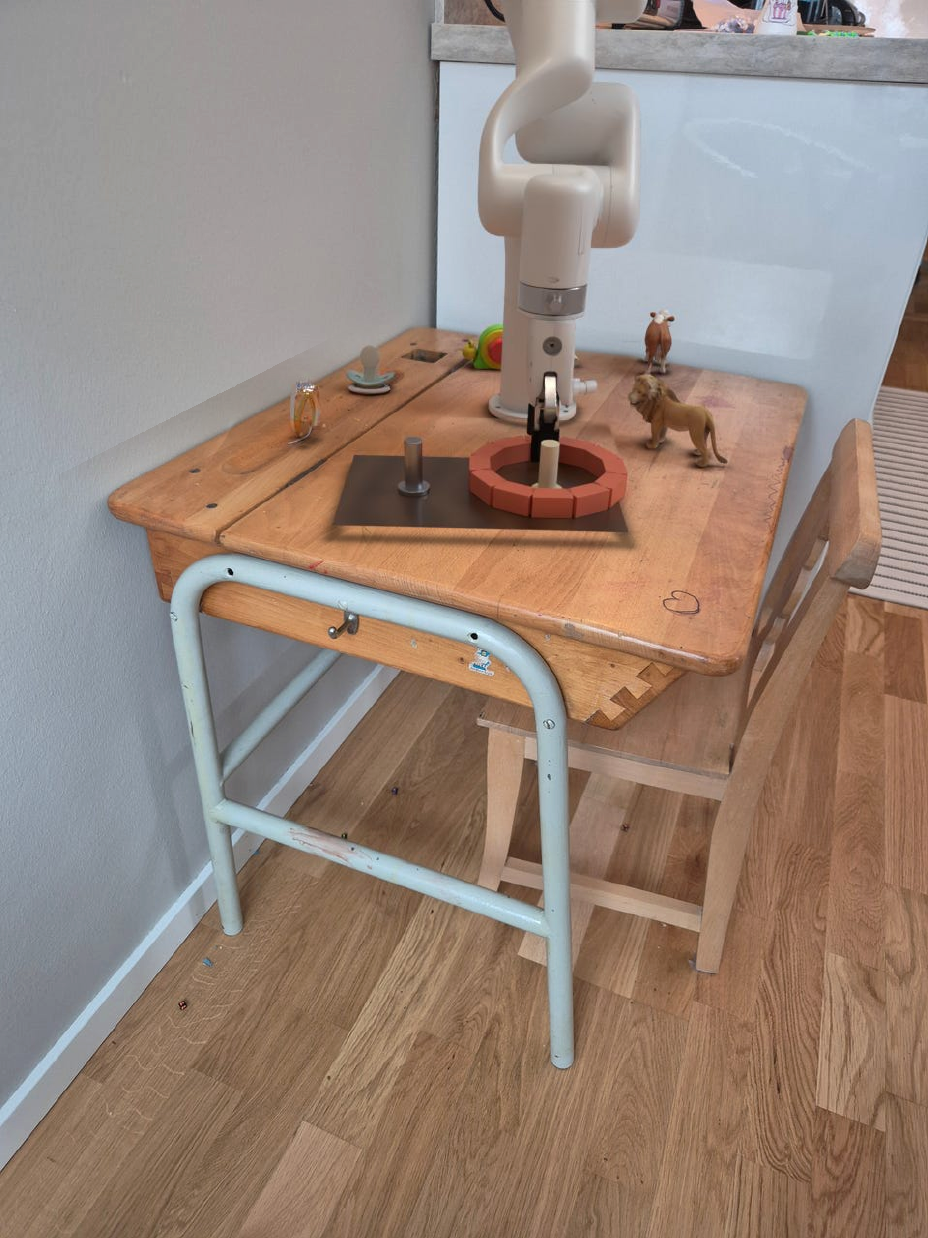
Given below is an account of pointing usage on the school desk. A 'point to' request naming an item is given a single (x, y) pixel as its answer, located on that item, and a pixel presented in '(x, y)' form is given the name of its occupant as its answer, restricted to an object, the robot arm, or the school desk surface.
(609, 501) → the ring
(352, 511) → the board
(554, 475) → the cream post
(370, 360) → the pacifier
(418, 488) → the steel post
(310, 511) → the school desk surface
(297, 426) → the ring
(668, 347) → the bull figurine
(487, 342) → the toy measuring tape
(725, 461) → the lion figurine
